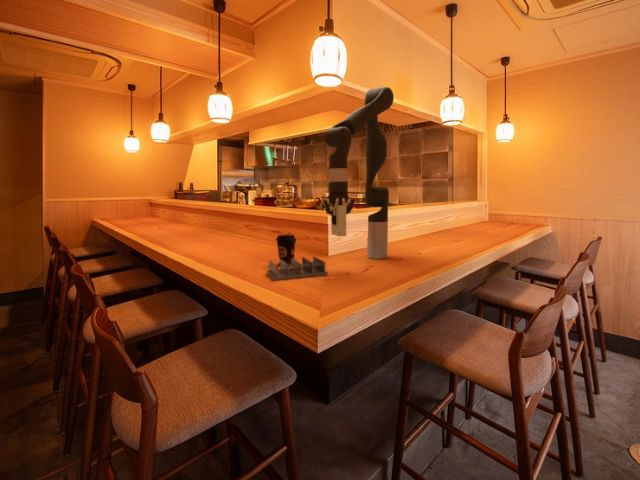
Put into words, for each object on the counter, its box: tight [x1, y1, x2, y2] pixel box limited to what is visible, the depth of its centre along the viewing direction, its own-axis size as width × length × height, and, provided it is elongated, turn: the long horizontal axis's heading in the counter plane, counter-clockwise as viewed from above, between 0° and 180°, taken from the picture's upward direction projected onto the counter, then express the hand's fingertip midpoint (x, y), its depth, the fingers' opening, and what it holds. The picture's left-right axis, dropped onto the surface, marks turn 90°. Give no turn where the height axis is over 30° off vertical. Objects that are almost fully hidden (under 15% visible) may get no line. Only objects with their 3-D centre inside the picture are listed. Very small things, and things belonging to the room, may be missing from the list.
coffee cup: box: [275, 234, 297, 266], centre depth 148 cm, size 9×8×13 cm
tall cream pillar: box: [330, 204, 347, 237], centre depth 134 cm, size 8×3×12 cm, turn 20°
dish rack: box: [266, 255, 329, 281], centre depth 130 cm, size 12×21×5 cm, turn 111°
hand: (338, 224), depth 135 cm, fingers closed on tall cream pillar, 3 cm apart
